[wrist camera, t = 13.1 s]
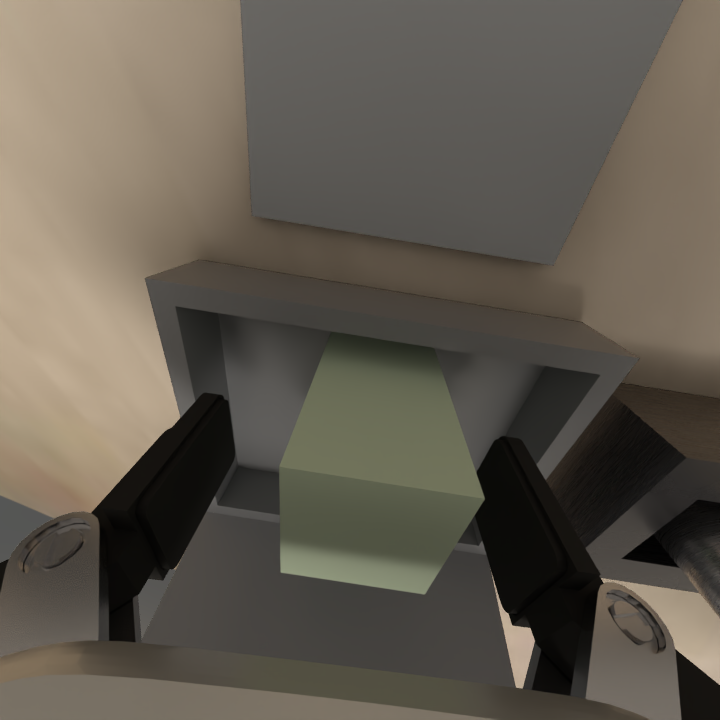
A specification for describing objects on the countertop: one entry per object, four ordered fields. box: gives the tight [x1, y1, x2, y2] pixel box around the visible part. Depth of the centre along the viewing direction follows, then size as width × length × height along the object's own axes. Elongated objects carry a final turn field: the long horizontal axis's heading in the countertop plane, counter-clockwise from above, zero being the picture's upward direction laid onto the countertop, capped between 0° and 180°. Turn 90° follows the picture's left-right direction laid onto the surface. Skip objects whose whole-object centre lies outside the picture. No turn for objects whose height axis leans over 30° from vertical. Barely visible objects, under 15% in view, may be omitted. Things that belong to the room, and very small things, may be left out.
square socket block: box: [546, 383, 720, 593], centre depth 13 cm, size 8×8×4 cm
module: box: [279, 332, 485, 594], centre depth 10 cm, size 4×5×7 cm
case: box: [145, 260, 640, 555], centre depth 13 cm, size 16×13×3 cm
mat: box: [240, 0, 683, 266], centre depth 8 cm, size 11×9×1 cm
